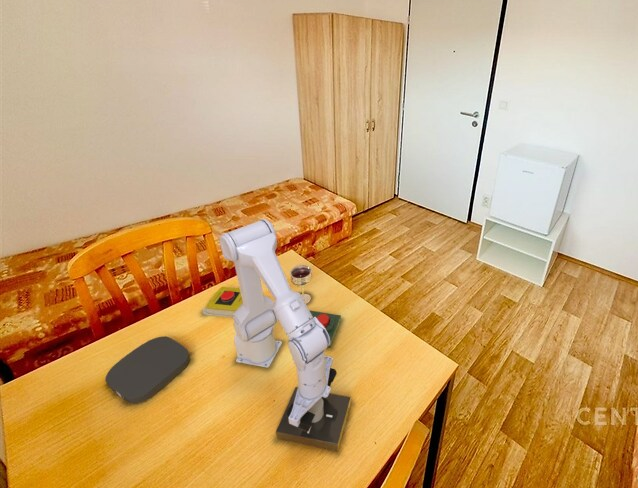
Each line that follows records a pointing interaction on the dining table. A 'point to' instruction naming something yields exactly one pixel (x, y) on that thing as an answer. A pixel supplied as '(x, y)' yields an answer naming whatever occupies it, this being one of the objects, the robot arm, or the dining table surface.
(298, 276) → the wineglass
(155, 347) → the media streaming box
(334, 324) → the button housing
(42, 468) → the dining table surface
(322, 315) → the button
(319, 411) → the dial knob
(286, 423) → the control panel
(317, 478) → the dining table surface
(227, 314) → the emergency button
